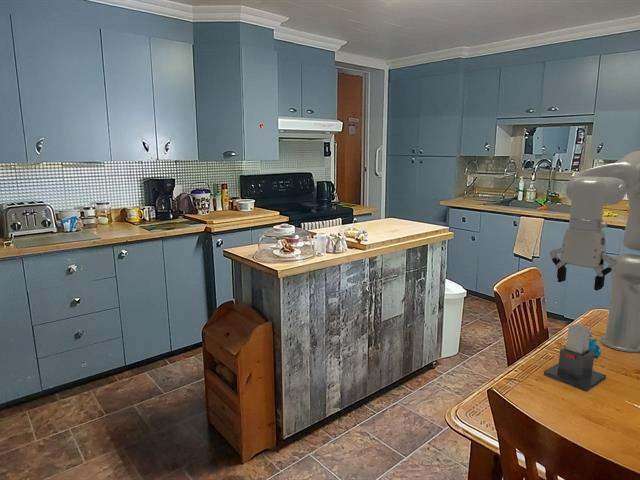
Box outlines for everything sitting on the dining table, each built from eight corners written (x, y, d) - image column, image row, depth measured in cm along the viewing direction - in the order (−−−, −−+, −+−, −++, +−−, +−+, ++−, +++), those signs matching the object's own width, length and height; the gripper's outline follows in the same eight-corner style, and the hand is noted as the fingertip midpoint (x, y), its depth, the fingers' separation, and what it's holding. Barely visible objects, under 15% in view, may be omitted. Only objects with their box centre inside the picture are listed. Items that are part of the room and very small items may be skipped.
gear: (592, 357, 138) (573, 328, 143) (576, 365, 142) (558, 337, 147) (609, 353, 144) (590, 326, 149) (593, 361, 148) (575, 333, 153)
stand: (563, 363, 138) (565, 339, 136) (605, 378, 128) (608, 352, 127) (543, 374, 131) (545, 349, 129) (586, 391, 121) (589, 364, 120)
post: (570, 367, 132) (575, 323, 130) (586, 373, 129) (591, 327, 126) (563, 371, 130) (567, 326, 127) (579, 377, 126) (584, 331, 124)
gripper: (627, 227, 115) (619, 290, 118) (559, 219, 129) (554, 276, 132) (614, 230, 111) (607, 295, 114) (546, 222, 125) (541, 281, 128)
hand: (579, 285), depth 123 cm, fingers open, 9 cm apart
